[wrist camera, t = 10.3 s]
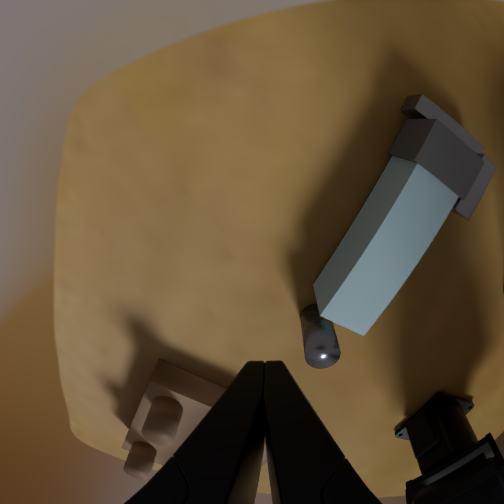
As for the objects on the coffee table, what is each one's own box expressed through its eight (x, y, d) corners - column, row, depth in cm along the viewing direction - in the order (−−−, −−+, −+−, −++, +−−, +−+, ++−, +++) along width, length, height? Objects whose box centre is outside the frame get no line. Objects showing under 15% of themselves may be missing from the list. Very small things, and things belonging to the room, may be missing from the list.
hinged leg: (355, 305, 20) (368, 339, 17) (308, 282, 20) (315, 315, 16) (450, 153, 16) (484, 161, 12) (406, 118, 15) (436, 118, 12)
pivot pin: (336, 311, 20) (347, 348, 17) (319, 333, 21) (327, 372, 17) (310, 299, 20) (317, 336, 16) (294, 322, 21) (298, 361, 17)
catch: (473, 150, 16) (501, 156, 13) (444, 206, 17) (468, 220, 15) (407, 96, 15) (430, 92, 12) (375, 157, 17) (393, 163, 14)
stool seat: (296, 412, 24) (298, 466, 19) (235, 469, 29) (230, 511, 23) (159, 358, 23) (136, 410, 18) (129, 429, 27) (112, 470, 22)
